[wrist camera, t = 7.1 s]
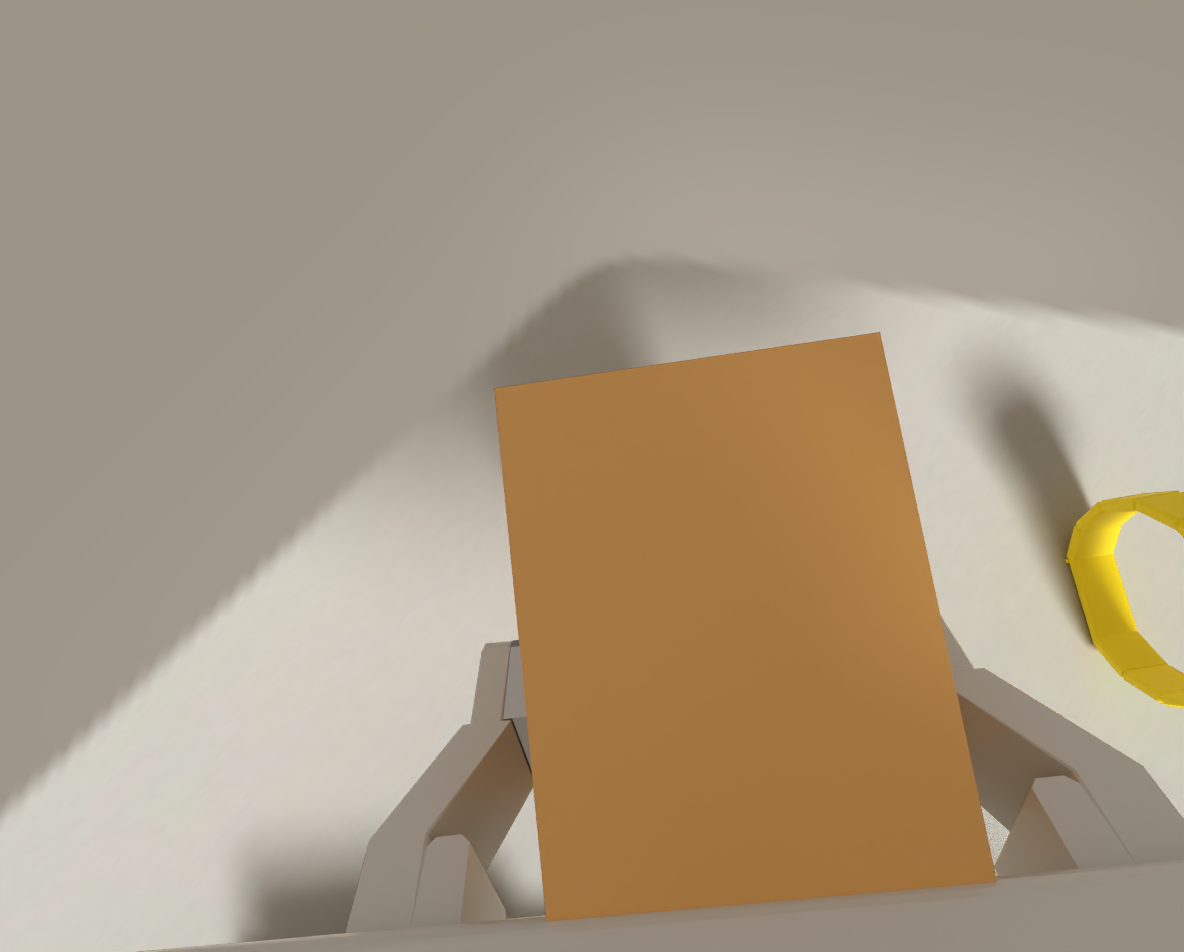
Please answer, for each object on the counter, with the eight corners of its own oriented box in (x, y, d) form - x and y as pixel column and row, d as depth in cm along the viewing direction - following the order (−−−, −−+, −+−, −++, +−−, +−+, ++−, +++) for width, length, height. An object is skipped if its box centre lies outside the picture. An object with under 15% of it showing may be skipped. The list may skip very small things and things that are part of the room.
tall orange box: (791, 730, 16) (1014, 960, 6) (610, 748, 16) (554, 997, 7) (748, 475, 17) (879, 332, 7) (580, 497, 18) (494, 387, 8)
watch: (1025, 520, 22) (1163, 478, 16) (1107, 505, 22) (1275, 458, 16) (1089, 703, 20) (1266, 729, 14) (1177, 688, 20) (1391, 709, 14)
